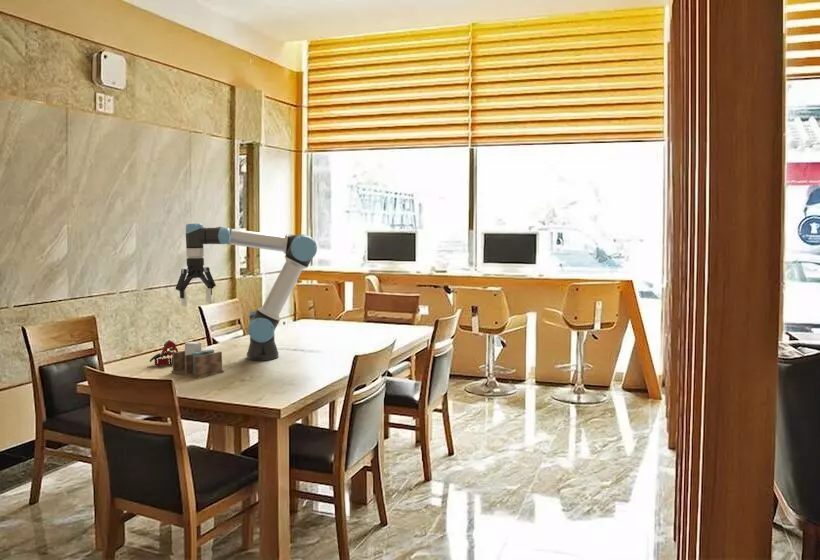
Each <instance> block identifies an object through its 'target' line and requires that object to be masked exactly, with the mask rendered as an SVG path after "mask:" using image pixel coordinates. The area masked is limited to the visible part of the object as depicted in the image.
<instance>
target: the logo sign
mask: <svg viewBox="0 0 820 560" xmlns="http://www.w3.org/2000/svg"><path fill="white" fill-rule="evenodd" d="M175 352H179V349H178V347H177V345H176V343H175V342H174V341H172V340H169V339H168V340H166V342H165V343H164V344H163V347H162V349H161V353H157V354H155V355H154V356H152V358H150V360H149V362H150V363H152V361H153V360H154V366H155V365H156V366H155V367H162V366H161V365H163V366H164V365H165V366H170V364H172V365H173V362H172V353H175ZM168 356H169V357H168ZM169 363H170V364H169Z"/></svg>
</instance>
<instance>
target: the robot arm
mask: <svg viewBox="0 0 820 560" xmlns="http://www.w3.org/2000/svg"><path fill="white" fill-rule="evenodd" d="M185 244H186V245H185V246H186V247H185V249H186V251H185V252H186V254H185V255H186V257H187V258H186V266H187V268H181V271H180V276H179V277H178V281H177V283H176V286H175V291H179V298H180V299H181V306H184V307H186V306H187V300H188V299H187V291H186V289H187V287H188V286H189V284H190V283H191V281H192V280H193V279H198V278H199V279H200V280H201V281H202V283H204V285H205V286H206V288H205V300H206V303H212V296H213V289H214V288H215V287H216V283H215V280H214V278H213V276H212V273H211V271H210V267H209V266H205V259H204V256H205V255H204V254H205V252H204V251H205V250H204V245H233V246H237V247H238V246H240V247H246V248H247V247H248V248H254V249H260V250H261V249H262V250H266V251H267V250H269V251H276V252H283V253H284V258H285V263H284V265H283V266H282V268H281V270H280V272H279V274H278V276H277V278H276V279H275V282H274V283H273V286H272V288H271V290H270V291H269V292H268V295H267V297H266V298H265V301H264V303H263V304H262V306H261V307H258V308H257V309H256V310H251V311H250V312H249V315H248V318H249V324H248V327H247V332H248V335H249V345H248V348H247V349H248V350H247V352H246V359H247V360H250V361H270V360H275V359H278V358H279V356H280V355H279V351H278V348H277V344H276V342H275V331H276V329H277V327H278V325H279V323H280V321H281V318H280V314H281V312H282V310H283V308H284V306H285V304H286V303H287V301H288V299H289V297H290V295H291V293H292V291H293V289H294V287H295V285H296V283H297V281H298V279H299V277H300V275H301V274H302V272H303V270H305V269H308V267H309V265H310V264H311V261H312V260H313V258H314V257H315V256H316V255H317V252H318V245H317V242H316V241H315V239H314V238H313V237H312V236H310V235H308V234H288V233H287V234H286V235H280V234H273V233H265V232H260V231H259V232H258V231H257V232H256V231H251V230H250V231H249V230H243V229H237V228H236V229H235V228H229V227H225V226H224V227H222V226H217V227H204V224H203V223H186V225H185Z"/></svg>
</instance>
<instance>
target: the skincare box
mask: <svg viewBox="0 0 820 560" xmlns="http://www.w3.org/2000/svg"><path fill="white" fill-rule="evenodd" d="M184 351H185V355H189V354H193V352H198V351H202V342H199V341H188V342H184Z"/></svg>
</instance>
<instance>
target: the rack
mask: <svg viewBox="0 0 820 560" xmlns="http://www.w3.org/2000/svg"><path fill="white" fill-rule="evenodd" d="M174 352H175V353H172V355H171V363H172V362H173V364H172V370H171V372H172V374H174V373H176V375H179V374H180V375H181V376H184V375H186V376H185V377H189V376H190V378H194V377H195V378H194V379H200V378H199V377H201V378H204V376H205V377H210V376H214V375H218V374H222V372H223V373H224V372H225V370H224V369H223V356H222V355H223V354H222V353H223V352H222V351H217V352H215V350H214V349H205V350H201V351H198V352H193V354H189V355H185V350H181V351H178V352H176V351H174ZM209 375H210V376H209Z"/></svg>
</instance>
